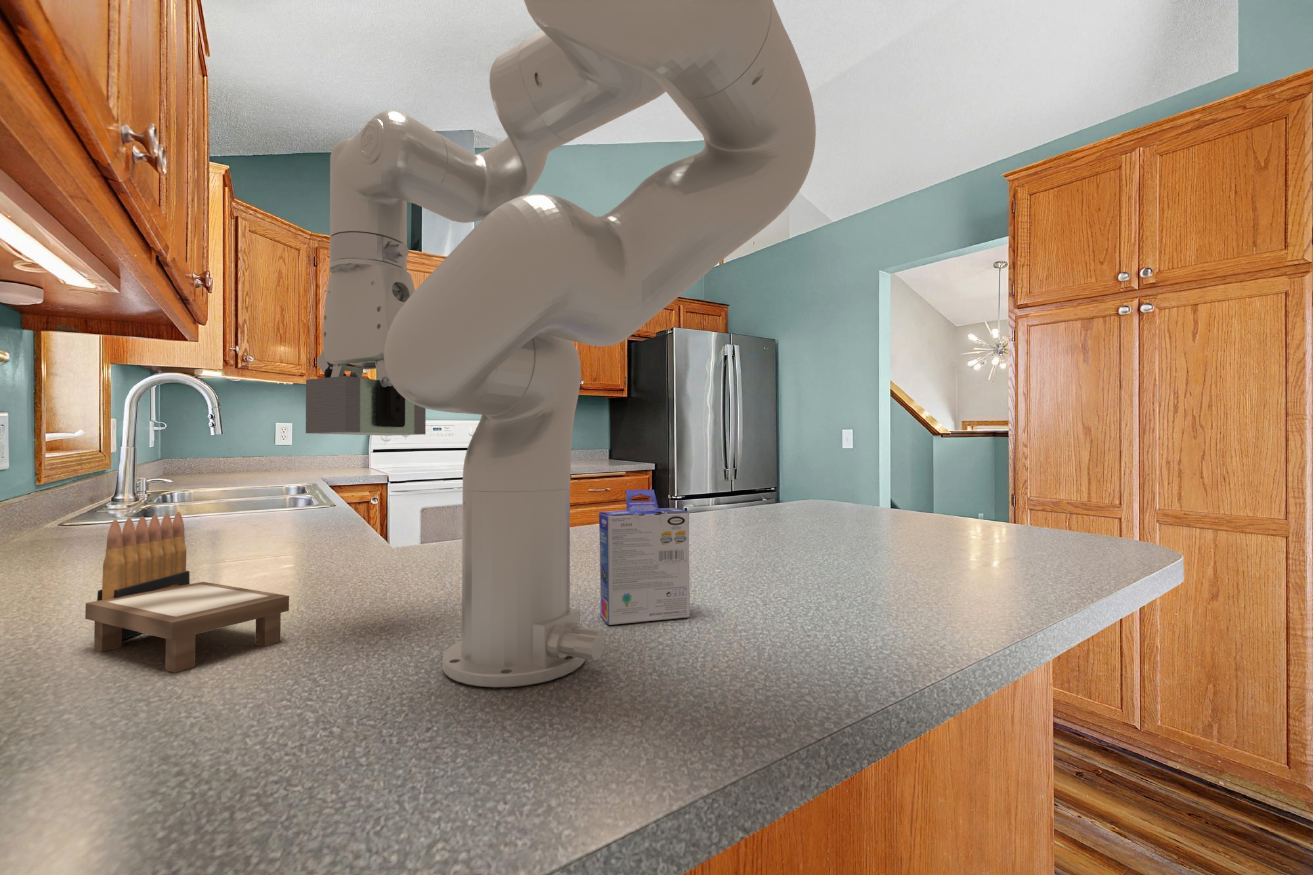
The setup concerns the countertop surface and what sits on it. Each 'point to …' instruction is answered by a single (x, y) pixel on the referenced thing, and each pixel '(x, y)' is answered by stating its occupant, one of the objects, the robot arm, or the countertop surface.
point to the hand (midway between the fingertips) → (368, 425)
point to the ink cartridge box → (644, 562)
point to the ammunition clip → (144, 559)
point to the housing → (353, 408)
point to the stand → (186, 617)
